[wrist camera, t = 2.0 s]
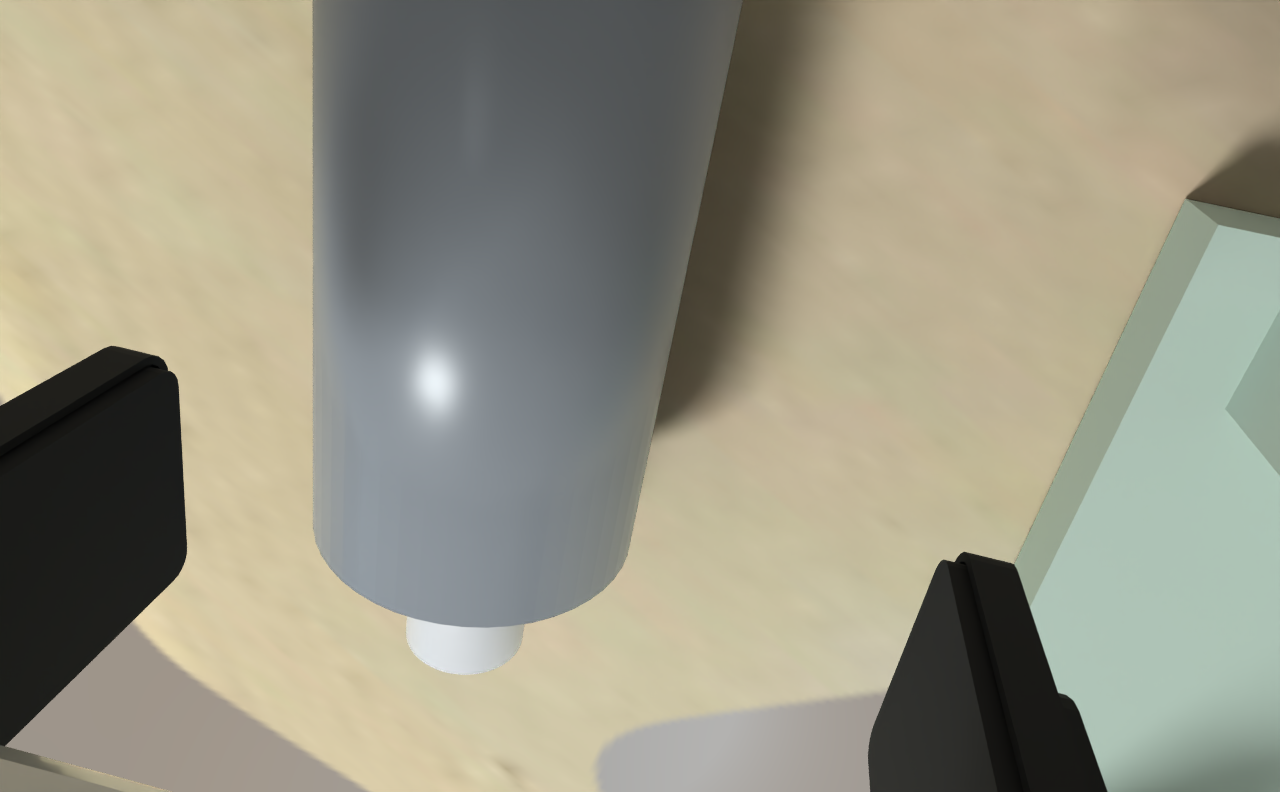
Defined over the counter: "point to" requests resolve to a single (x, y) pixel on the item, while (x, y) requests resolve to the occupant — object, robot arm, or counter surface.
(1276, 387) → the cradle
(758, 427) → the counter surface
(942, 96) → the counter surface
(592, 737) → the counter surface
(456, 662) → the roll
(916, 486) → the counter surface
